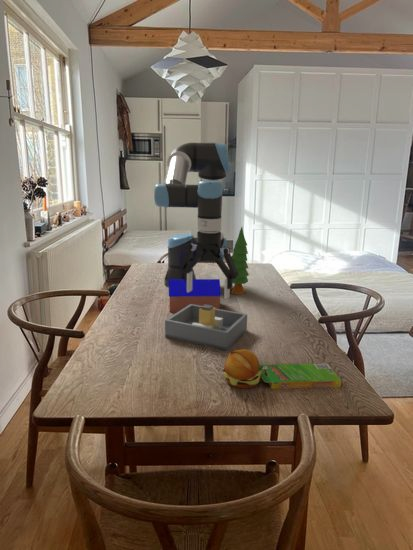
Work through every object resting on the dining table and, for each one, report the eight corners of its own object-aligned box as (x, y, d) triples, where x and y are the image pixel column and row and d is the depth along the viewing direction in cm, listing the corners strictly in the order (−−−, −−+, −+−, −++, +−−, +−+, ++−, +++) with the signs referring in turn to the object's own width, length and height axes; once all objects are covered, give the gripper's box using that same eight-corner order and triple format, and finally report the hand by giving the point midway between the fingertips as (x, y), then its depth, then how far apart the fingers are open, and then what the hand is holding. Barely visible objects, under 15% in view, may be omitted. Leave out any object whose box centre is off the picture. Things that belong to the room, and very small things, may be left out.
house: (168, 302, 171) (168, 275, 168) (217, 302, 173) (217, 275, 170) (168, 312, 160) (168, 283, 157) (220, 312, 161) (221, 283, 158)
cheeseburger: (265, 373, 115) (266, 345, 110) (257, 401, 106) (258, 371, 101) (229, 367, 118) (229, 338, 113) (219, 393, 109) (218, 364, 104)
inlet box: (165, 337, 137) (165, 320, 136) (190, 319, 153) (190, 303, 151) (226, 350, 128) (227, 332, 127) (246, 330, 144) (247, 314, 142)
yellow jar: (198, 331, 139) (199, 307, 137) (204, 327, 143) (204, 303, 140) (209, 334, 138) (210, 309, 135) (214, 329, 141) (215, 305, 139)
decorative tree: (241, 296, 180) (244, 227, 172) (222, 293, 184) (224, 225, 176) (250, 291, 188) (254, 225, 180) (231, 287, 192) (234, 223, 184)
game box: (340, 391, 109) (263, 389, 107) (326, 373, 119) (256, 371, 117) (341, 380, 109) (265, 378, 107) (328, 363, 118) (257, 361, 116)
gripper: (168, 229, 133) (169, 291, 139) (242, 237, 123) (238, 304, 129) (180, 225, 140) (180, 285, 146) (250, 232, 130) (247, 297, 136)
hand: (207, 294), depth 137 cm, fingers open, 13 cm apart
